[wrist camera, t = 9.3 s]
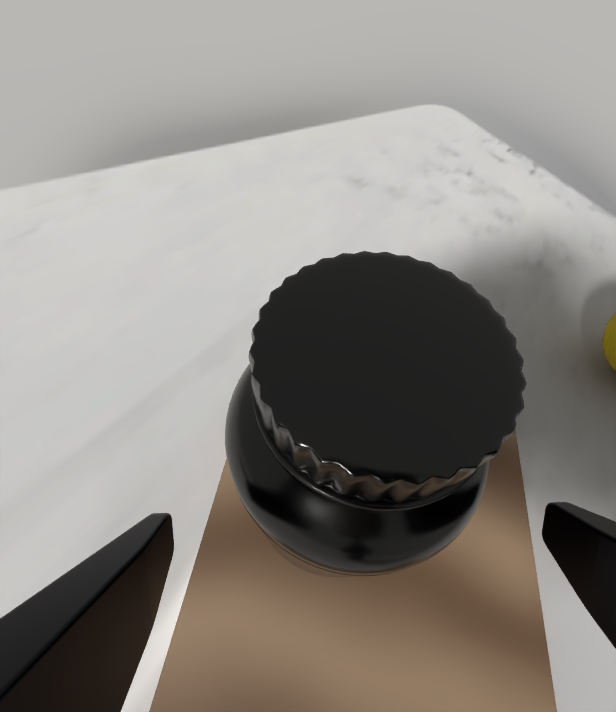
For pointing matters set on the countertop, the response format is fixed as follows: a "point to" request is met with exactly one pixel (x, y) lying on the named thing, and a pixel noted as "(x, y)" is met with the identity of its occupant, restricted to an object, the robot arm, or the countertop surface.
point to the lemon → (610, 342)
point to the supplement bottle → (371, 413)
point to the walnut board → (364, 622)
